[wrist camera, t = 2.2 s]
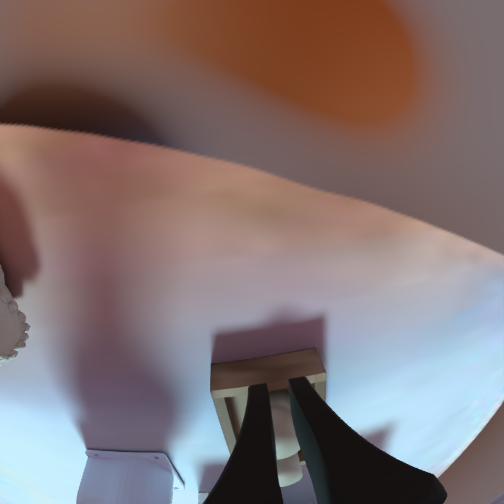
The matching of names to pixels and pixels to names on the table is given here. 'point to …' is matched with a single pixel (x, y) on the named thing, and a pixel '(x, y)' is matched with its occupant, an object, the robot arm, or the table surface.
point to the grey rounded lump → (10, 324)
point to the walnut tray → (258, 374)
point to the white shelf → (202, 497)
